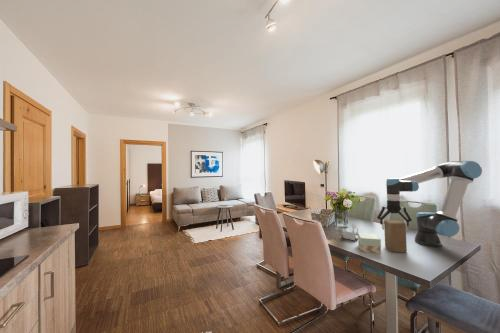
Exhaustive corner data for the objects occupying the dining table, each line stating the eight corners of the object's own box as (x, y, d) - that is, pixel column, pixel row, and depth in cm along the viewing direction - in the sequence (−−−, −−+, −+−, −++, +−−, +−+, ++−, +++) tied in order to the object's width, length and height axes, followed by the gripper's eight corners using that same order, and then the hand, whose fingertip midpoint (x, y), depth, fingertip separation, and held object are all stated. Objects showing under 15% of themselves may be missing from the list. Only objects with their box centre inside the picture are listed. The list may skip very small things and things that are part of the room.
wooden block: (407, 253, 138) (406, 223, 138) (391, 252, 140) (389, 223, 140) (399, 247, 148) (398, 220, 148) (384, 247, 150) (383, 219, 150)
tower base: (376, 247, 150) (376, 240, 150) (380, 254, 138) (380, 246, 139) (358, 245, 154) (358, 239, 154) (361, 252, 143) (360, 244, 143)
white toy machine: (349, 223, 182) (363, 225, 174) (350, 234, 182) (364, 236, 174) (341, 227, 170) (355, 230, 162) (341, 239, 170) (356, 242, 162)
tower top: (376, 240, 150) (376, 234, 150) (380, 246, 138) (380, 239, 139) (358, 239, 154) (358, 232, 154) (361, 245, 142) (360, 238, 143)
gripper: (412, 199, 143) (413, 230, 143) (372, 198, 152) (372, 227, 152) (417, 201, 136) (418, 233, 136) (374, 200, 145) (375, 229, 145)
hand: (394, 230), depth 144 cm, fingers open, 13 cm apart
